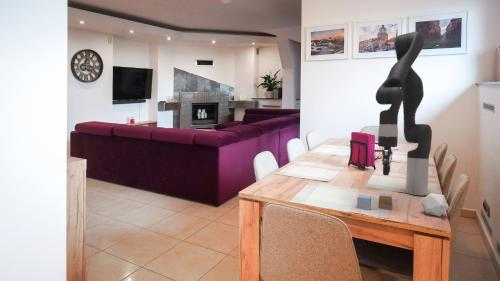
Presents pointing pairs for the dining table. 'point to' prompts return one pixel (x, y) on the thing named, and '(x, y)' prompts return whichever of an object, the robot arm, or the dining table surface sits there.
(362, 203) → the blue cube
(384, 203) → the walnut cube
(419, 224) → the dining table surface
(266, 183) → the dining table surface
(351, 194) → the dining table surface
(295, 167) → the dining table surface
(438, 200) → the die
